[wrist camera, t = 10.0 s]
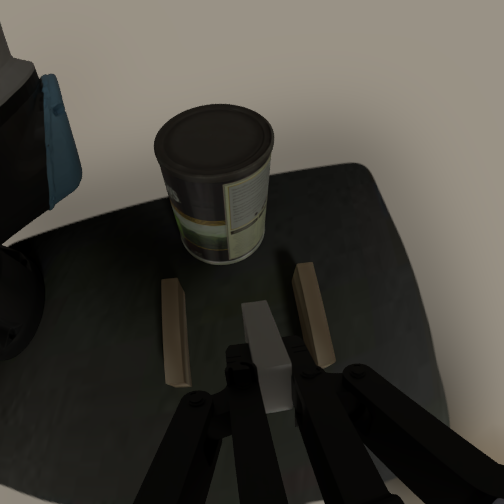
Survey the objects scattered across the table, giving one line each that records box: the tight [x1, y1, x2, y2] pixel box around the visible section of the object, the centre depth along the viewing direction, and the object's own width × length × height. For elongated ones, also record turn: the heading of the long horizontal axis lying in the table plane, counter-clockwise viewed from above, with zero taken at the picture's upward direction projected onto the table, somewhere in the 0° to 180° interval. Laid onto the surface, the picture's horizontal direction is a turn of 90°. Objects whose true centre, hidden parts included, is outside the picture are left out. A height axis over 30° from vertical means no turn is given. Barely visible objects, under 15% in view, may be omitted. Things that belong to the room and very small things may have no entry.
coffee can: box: [154, 104, 274, 265], centre depth 30 cm, size 10×10×14 cm
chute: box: [161, 262, 336, 387], centre depth 28 cm, size 15×10×4 cm
